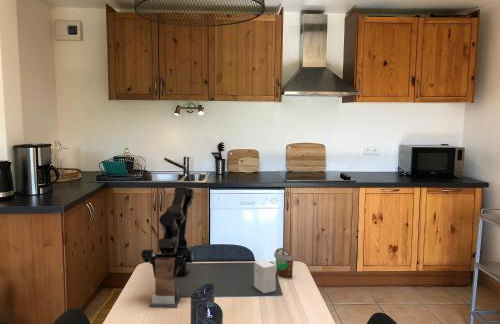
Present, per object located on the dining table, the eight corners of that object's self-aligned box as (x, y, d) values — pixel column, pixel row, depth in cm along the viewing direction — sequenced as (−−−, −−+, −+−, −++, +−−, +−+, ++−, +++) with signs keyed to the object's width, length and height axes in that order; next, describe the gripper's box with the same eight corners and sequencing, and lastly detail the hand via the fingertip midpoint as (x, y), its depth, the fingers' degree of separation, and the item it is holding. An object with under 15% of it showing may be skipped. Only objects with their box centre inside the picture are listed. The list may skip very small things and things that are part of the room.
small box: (275, 291, 162) (276, 265, 161) (263, 294, 159) (263, 267, 158) (265, 284, 169) (265, 259, 168) (253, 286, 166) (253, 261, 165)
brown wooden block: (157, 294, 153) (157, 257, 151) (175, 294, 153) (174, 258, 151) (154, 299, 149) (154, 261, 147) (172, 299, 149) (172, 262, 147)
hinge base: (154, 297, 156) (154, 287, 155) (181, 297, 155) (180, 287, 155) (149, 307, 148) (148, 296, 147) (176, 307, 147) (176, 296, 147)
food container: (269, 269, 185) (270, 248, 183) (282, 268, 186) (282, 247, 185) (280, 280, 173) (280, 257, 172) (293, 278, 175) (293, 255, 174)
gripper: (141, 228, 153) (133, 268, 143) (191, 229, 152) (186, 268, 143) (148, 242, 161) (140, 280, 152) (195, 243, 161) (190, 281, 151)
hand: (164, 277), depth 149 cm, fingers closed on brown wooden block, 6 cm apart
